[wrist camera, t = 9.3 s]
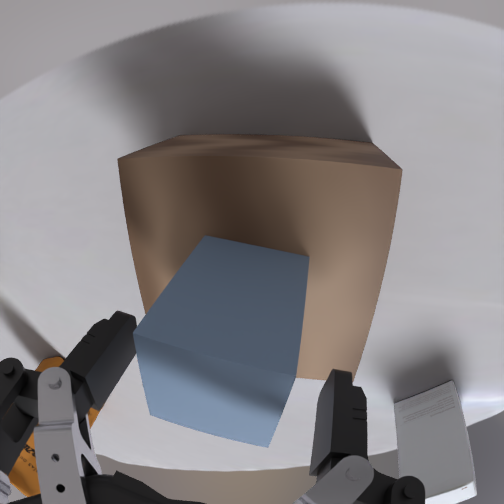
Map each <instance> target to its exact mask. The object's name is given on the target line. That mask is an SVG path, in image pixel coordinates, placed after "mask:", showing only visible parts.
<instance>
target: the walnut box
mask: <svg viewBox="0 0 504 504" xmlns="http://www.w3.org/2000/svg"><path fill="white" fill-rule="evenodd" d="M118 167H119V175H120V183H121V190H122V197H123V204H124V211H125V217H126V223H127V229H128V234H129V240H130V245H131V251H132V256H133V261H134V266H135V270H136V275H137V280H138V284H139V289H140V293H141V297H142V301H143V306H144V310H145V314H147V312H148V311H149V309H150V308H151V307H152V305H153V304H154V303H155V301H156V300H157V298H158V297H159V296H160V294H161V293H162V292H163V290H164V289H165V287H166V286H167V285H168V283H169V282H170V281H171V279H172V278H173V277H174V275H175V274H176V273H177V271H178V270H179V269H180V267H181V266H182V265H183V263H184V262H185V261H186V259H187V258H188V257H189V255H190V254H191V253H192V251H193V250H194V249H195V247H196V246H197V245H198V243H199V242H200V241H201V240H202V238H203V237H204V236H205V235H206V236H211V237H216V238H221V239H226V240H231V241H236V242H241V243H246V244H250V245H255V246H260V247H265V248H270V249H275V250H280V251H284V252H289V253H294V254H299V255H304V256H308V257H310V258H309V270H308V280H307V290H306V300H305V309H304V318H303V327H302V336H301V344H300V352H299V359H298V367H297V374H296V378H306V379H317V380H327V378H328V376H329V374H330V372H331V370H332V369H338V370H343V371H349V372H352V382H353V380H354V378H355V375H356V372H357V369H358V366H359V363H360V359H361V356H362V353H363V350H364V347H365V343H366V340H367V337H368V333H369V330H370V327H371V323H372V319H373V316H374V312H375V308H376V305H377V301H378V297H379V293H380V289H381V285H382V280H383V276H384V272H385V267H386V263H387V258H388V254H389V249H390V244H391V239H392V233H393V228H394V223H395V217H396V211H397V205H398V198H399V192H400V185H401V177H402V169H401V168H400V167H399V166H398V165H397V164H396V163H395V162H394V161H393V160H391V159H390V158H389V157H388V156H387V155H386V154H385V153H384V152H383V151H381V150H380V149H379V148H378V147H377V146H376V145H374V144H373V143H369V142H360V141H351V140H341V139H329V138H317V137H302V136H283V135H251V134H210V135H180V136H177V137H174V138H171V139H168V140H165V141H162V142H160V143H157V144H154V145H151V146H149V147H146V148H143V149H141V150H138V151H136V152H133V153H131V154H128V155H126V156H123V157H121V158H118Z"/></svg>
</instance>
